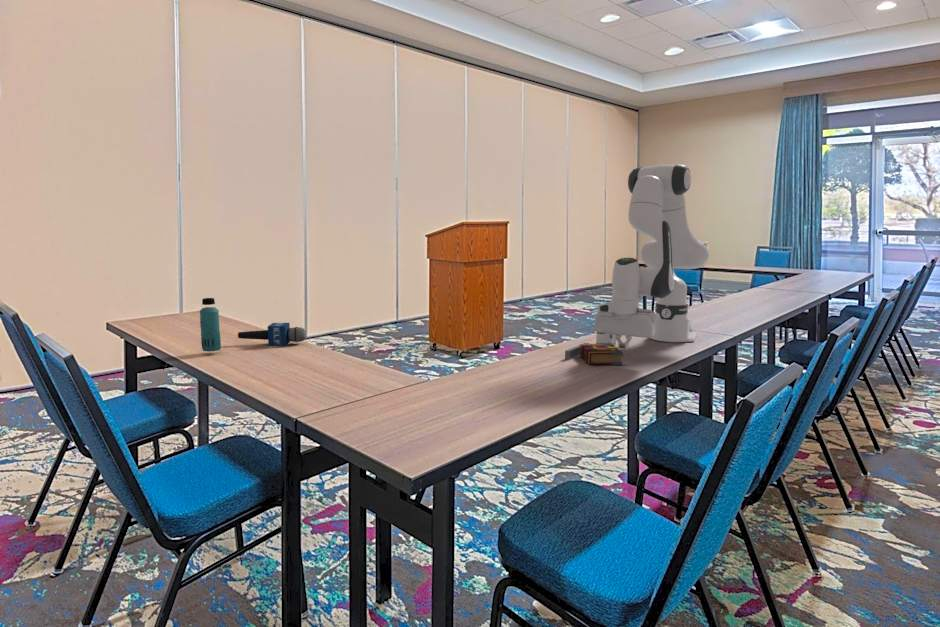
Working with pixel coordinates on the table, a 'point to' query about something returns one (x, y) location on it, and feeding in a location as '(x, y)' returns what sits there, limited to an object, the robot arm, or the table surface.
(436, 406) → the table surface
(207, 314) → the beverage bottle
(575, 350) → the charcoal bar
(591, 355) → the decorative book
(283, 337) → the microphone
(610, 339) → the ink box
